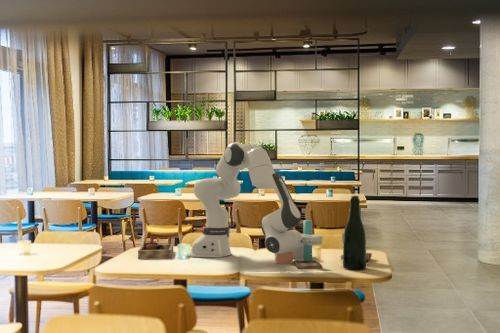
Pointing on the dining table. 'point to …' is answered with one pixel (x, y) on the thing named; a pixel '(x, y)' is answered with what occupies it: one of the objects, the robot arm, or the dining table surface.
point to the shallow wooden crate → (156, 252)
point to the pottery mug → (152, 246)
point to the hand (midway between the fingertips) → (308, 236)
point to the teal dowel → (307, 248)
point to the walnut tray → (307, 264)
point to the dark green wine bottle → (354, 239)
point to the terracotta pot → (284, 258)
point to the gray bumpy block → (298, 253)
